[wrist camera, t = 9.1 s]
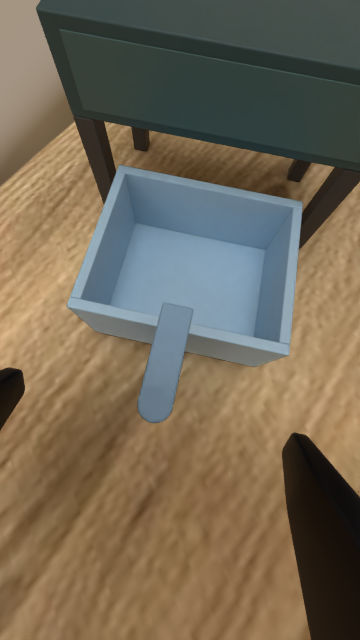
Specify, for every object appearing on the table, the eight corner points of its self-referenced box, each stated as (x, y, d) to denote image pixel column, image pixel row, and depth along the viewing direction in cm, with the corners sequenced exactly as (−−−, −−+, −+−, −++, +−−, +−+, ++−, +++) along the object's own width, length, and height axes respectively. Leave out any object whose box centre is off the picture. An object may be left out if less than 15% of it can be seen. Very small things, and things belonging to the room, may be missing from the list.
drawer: (247, 428, 17) (334, 465, 8) (76, 389, 17) (-26, 382, 8) (270, 249, 21) (345, 140, 12) (131, 220, 22) (103, 93, 12)
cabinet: (292, 259, 21) (446, 85, 9) (108, 220, 22) (33, 8, 10) (300, 172, 24) (428, -48, 12) (137, 140, 25) (106, -103, 13)
